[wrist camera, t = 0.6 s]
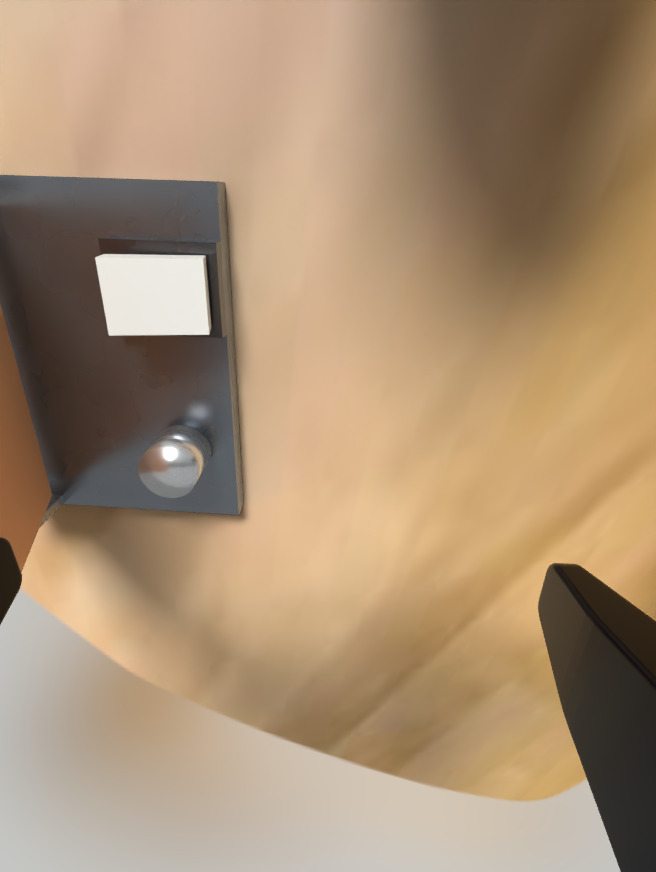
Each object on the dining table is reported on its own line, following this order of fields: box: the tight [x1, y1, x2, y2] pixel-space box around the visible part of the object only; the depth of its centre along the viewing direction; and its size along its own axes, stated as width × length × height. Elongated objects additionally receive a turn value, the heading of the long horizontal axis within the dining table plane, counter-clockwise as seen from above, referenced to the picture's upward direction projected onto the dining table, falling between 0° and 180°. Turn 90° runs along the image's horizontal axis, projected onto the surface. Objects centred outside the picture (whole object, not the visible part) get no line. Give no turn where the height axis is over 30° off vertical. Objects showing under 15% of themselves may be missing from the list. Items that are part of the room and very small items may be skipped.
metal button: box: [138, 424, 211, 498], centre depth 19 cm, size 2×2×2 cm
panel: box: [0, 175, 244, 528], centre depth 18 cm, size 11×13×3 cm
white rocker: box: [95, 254, 211, 336], centre depth 16 cm, size 3×2×1 cm
